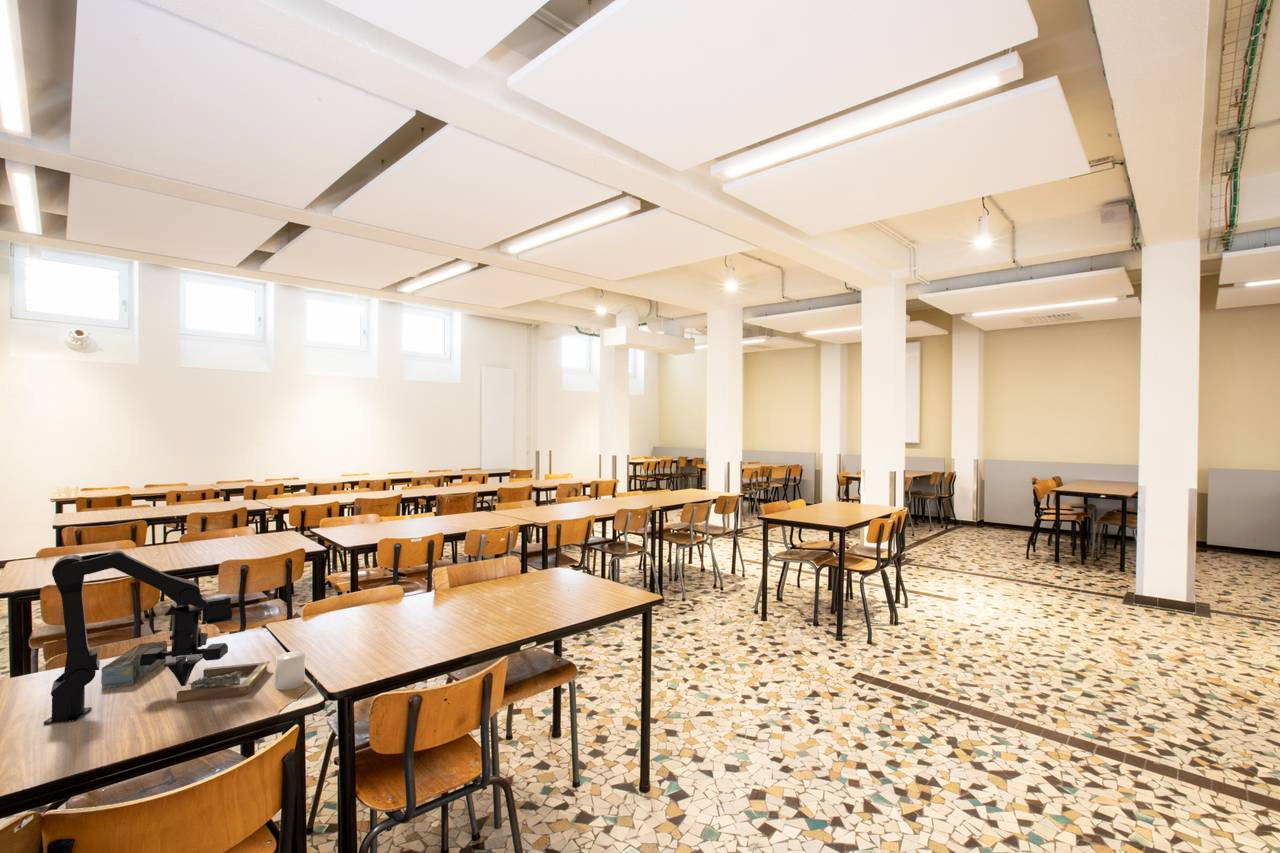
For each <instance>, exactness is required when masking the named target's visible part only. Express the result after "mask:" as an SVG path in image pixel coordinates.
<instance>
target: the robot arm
mask: <svg viewBox="0 0 1280 853" xmlns="http://www.w3.org/2000/svg"><path fill="white" fill-rule="evenodd" d="M110 569H115V570H117V571H119V572H121V573H122V574H126V575H127V576H129V577H132V578H134V579H136V580H138V581H140V582H142V583H145V584H147V585H149V586H150V587H153V588H156V589H157V590H158V591H160V592H162V593H163V594H164V595H165V596H166V597H168V598H169V599H170V600H172V601H173V602H175V604H177V605H178V606H175V605H174V604H171V603H170V605H169V606H168V608H166V609H165V610H164V611H163V615H164V616H165V617H166V616H167V617H169V616H172V618H171V619H172V625H171V626H172V627H171V635H169V640H170V641H171V649H170V650H169V651H168V648H167V649H166V648H152V649H150V650H148V651H147V652H145V653H143V654H142V655H141V656H140V658H139V666H146V665H152V664H153V663H154V662H156V660H159V659H166V661H165V663H164V664H163V666H164V668H168V669H169V671H170V672H172V674H173V675H174V677H175V678H176V680H177V682H178V684H179V685H180V686H181V687H185V686H186V685H188V681H189V680H190V677H191V675H192V672H193V670H194V668H195V666H196V665H197V663H199V662H200V661H201V660H205V662H207V661H216V660H217V661H218V660H221V659H222V658H223V657H224V656H225V655H226V654H228V652H229V647H228V644H227V643H226V642H223V643H211V644H210V645H208V646H207V647H205V648H201V647H203V646H206V645H207V640H208V634H209V633H205V632H202V629H201V627H199V626H200V625H199V620H201V623H205V624H206V626H208V625H214V624H221V623H225V622H231V621H232V620H233V609H232V602H231V597H230V596H224V597H221V598H216V599H209V600H207V599H206V597H205V596H203V595H202V594H201V590H200V587H199V585H198V583H196V581H193V580H189V579H187V578H183V577H178V576H175V575H174V576H173V575H170V574H167V573H165V572H163V571H161V570H159V569H157V568H154V567H153V566H150V565H149V564H146V563H144V562H143V561H140V560H138V559H137V558H134V557H132V556H130V555H127V554H126V553H125V552H123V551H122V550H118V549H117V550H111V551H108V552H101V553H92V554H86V555H81V556H80V555H77V554H67V555H64V556H62V557H60V558H59V559H58V560H56V562H55V563H54V565H53V567H52V570H51V576H52V578H53V581H54V583H55V586H56V587H57V590H58V593H59V594H60V596H61V602H62V604H61V605H62V612H63V622H64V631H65V632H64V633H65V642H66V651H67V652H66V657H65V663H64V670H63V673H62V674H61V675H60V676H58V677H57V678H56V679H55V680H54V681H53V683H52V687H51V691H50V695H51V697H52V698H51V716H50V717H49V718H47V719H46V720H45V721H43V724H44V725H49V724H57V723H59V724H60V723H68V722H75V721H77V720H79V719H80V718H82V717H83V716H84V715H86V714H87V713H89V712H90V711H91V710H93V708H92V706H89V707H86V706H85V698H86V697H85V696H86V692H85V690H86V686H87V685H88V684H89V683H91V682H92V681H93V680H94V679H95V676H96V671H99V670H100V663H101V661H100V660H99V659H98V654H99V653H98V652H99V648H98V647H96V648H92V649H91V647H90V645H89V642H88V634H87V623H86V614H85V605H84V595H83V587H84V581H85V576H87V575H92V574H95V573H98V572H102V571H106V570H110ZM190 606H191V607H190ZM200 615H201V616H200ZM199 616H200V617H201V619H200V617H199Z"/></svg>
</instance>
